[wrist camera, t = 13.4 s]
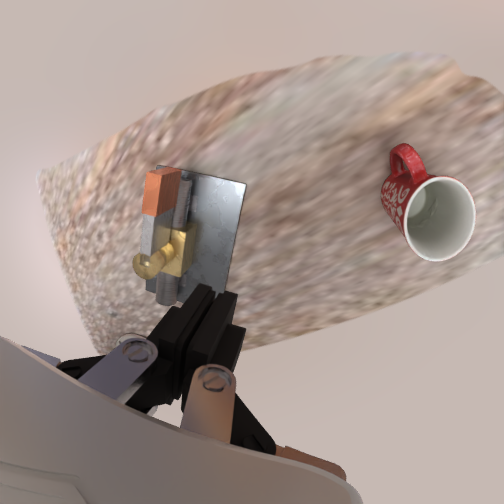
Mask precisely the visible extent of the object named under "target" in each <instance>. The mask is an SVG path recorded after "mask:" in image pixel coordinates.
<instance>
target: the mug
mask: <svg viewBox="0 0 504 504" xmlns="http://www.w3.org/2000/svg"><path fill="white" fill-rule="evenodd" d="M403 161H404V162H405V164H406V166H407V168H408V169H409V171H408V170H405V169H404V166H403ZM390 166H391V171H392V174H391V175H390V176H389V177H388V178H387V179H386V180H385V182H384V184H383V187H382V190H381V200H382V204H383V207H384V209H385V210H386V212H387V213H388V215H389V216H390V217H391V218H392V220H393V221H394V223H395V224H396V225H397V227H398V228H399V229H400V231H401V232H402V234H403V235H404V237H405V238H406V241H407V243H408V245H409V247H410V248H411V249H412V251H413V252H414V253H415V254H416V255H418V256H419V257H421V258H422V259H425V260H428V261H444V260H447V259H450V258H452V257H454V256H455V255H457V254H458V253H459V252H460V251H461V250H462V249H463V248H464V247H465V246H466V245H467V243H468V242H469V240H470V238H471V236H472V234H473V231H474V228H475V223H476V208H475V203H474V200H473V197H472V195H471V193H470V191H469V190H468V188H467V187H466V186H465V185H464V184H463V183H462V182H460V181H459V180H457V179H455V178H453V177H449V176H435V175H429V174H427V172H426V170H425V167H424V164H423V162H422V160H421V158H420V157H419V155H418V154H417V152H416V151H415V150H414V148H413V147H411V146H410V145H408V144H406V143H402V144H399V145H397V146H396V147H394V148H393V149H392V150H391V152H390Z"/></svg>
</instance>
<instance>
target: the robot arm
mask: <svg viewBox="0 0 504 504" xmlns="http://www.w3.org/2000/svg"><path fill="white" fill-rule="evenodd" d="M215 296H216V291H213V290H212V286H208V285H205V284H202V283H199V284H198V285H197V287H196V288H195V289H194V291H193V292H192V293H191V295H190V296H189V297H188V299H187V300H186V301H185V303H184V304H183V305H182V307H181V308H178V307H176V306H172V307H171V308H170V309H169V311H168V312H167V313H166V314H165V316H164V317H163V318H162V319H161V321H160V322H159V323H158V325H157V326H156V327H155V328H154V330H153V331H152V332H151V333H150V335H149V336H148V337H147V339H146V338H144V337H142V336H140V335H136V334H125V335H123V336H121V337H120V338H119V339H118V341H117V343H116V348H115V349H113V350H112V351H111V352H110V353H109V354H108V355H102V356H96V357H89V358H81V359H74V360H68V361H64V362H61V360H60V359H58V358H56V357H53V356H50V355H47V354H44V353H41V352H39V351H36V350H33V349H31V348H28V347H25V346H20V345H18V344H16V343H15V342H13V341H11V340H9V339H6V338H4V337H1V336H0V504H363V502H362V499H361V497H360V495H359V493H358V491H357V490H356V489H355V488H354V487H353V486H351V485H350V484H349V483H347V482H346V474H345V472H344V470H343V469H342V468H341V467H340V466H339V465H336V464H335V463H332V462H329V461H326V460H323V459H320V458H317V457H315V456H311V455H309V454H306V453H304V452H301V451H298V450H296V449H293V448H291V447H288V446H285V448H284V447H281V446H279V445H276V444H275V442H274V440H273V439H272V437H271V436H270V435H269V434H268V433H267V431H266V430H265V429H264V428H263V427H262V425H261V424H260V423H259V422H258V420H257V419H256V418H255V417H254V416H253V414H252V413H251V412H250V411H249V409H248V408H247V407H246V406H245V404H244V403H243V402H242V400H241V399H240V398H239V396H238V395H237V394H236V393H235V391H236V378H235V376H234V374H233V372H234V369H235V366H236V363H237V360H238V357H239V354H240V350H241V347H242V344H243V340H244V336H245V332H246V328H243V327H239V326H236V325H232V319H233V315H234V310H235V306H236V302H237V297H238V294H235V293H232V292H229V291H224V293H220V292H219V294H218V295H217V297H216V299H215ZM181 394H182V404H181V410H182V412H183V417H182V421H181V425H180V428H179V427H177V426H174V425H171V424H169V423H166V422H164V421H161V420H159V419H156V418H154V417H152V416H153V414H154V413H155V412H156V410H157V407H158V405H162V404H165V403H166V404H168V405H171V404H172V402H173V400H174V399H176V400H179V398H180V396H181Z"/></svg>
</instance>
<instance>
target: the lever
mask: <svg viewBox="0 0 504 504" xmlns="http://www.w3.org/2000/svg"><path fill="white" fill-rule="evenodd" d="M181 173H182V170H181V169H176V168H172V167H166V168H162V169H157V170H153V171H149V172H147V174H146V181H145V189H144V197H143V205H142V213H143V214H144V216H143V226H142V236H141V248H140V253H139V254H137V255H136V256H135V257H134V259H133V268H134V271H135V272H136V274H137V275H138V276H139V277H141V278H143V279H152V278H153V277H154V276H155V275H156V274H158V273H159V272H160V271H161V270H162V269H163V268H164V267H165V266H166V265H167V264H168V263H169V262H170V261H171V260H172V259H173V258H174V249H173V247H172V245H171V244H170V243H169V238H170V231H171V223H172V216H173V210H174V207H175V206H176V203H177V197H178V191H179V185H180V179H181Z"/></svg>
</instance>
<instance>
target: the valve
mask: <svg viewBox="0 0 504 504" xmlns="http://www.w3.org/2000/svg"><path fill="white" fill-rule="evenodd" d="M162 168H166V167H165V166H160V165H157V167H156V170H157V169H162ZM245 189H246V184H244V183H240V182H236V181H232V180H227V179H223V178H218V177H214V176H209V175H205V174H200V173H195V172H190V171H186V170H182V173H181V179H180V185H179V191H178V197H177V203H176V206H175V207H174V210H173V216H172V223H171V231H170V238H169V243H170V244H171V245H172V247H173V249H174V258H173V259H172V260H171V261H170V262H169V263H168V264H167V265H166V266H165V267H164V268H163V269H162V270H161V271H160V272H159V273H158V274H156V275H155V276H154V277H153V278H152V279H146V290H147V291H150V292H153V293H156V301H157V303H159V304H161V305H164V306H170V305H174V304H175V303H176V302H177V301H179V302H182V303H185V301H186V300H187V299H188V297H189V296H190V295H191V293H192V292H193V291H194V289H195V288H196V287H197V285H198V284H199V283H202V284H205V285H208V286H212V290H213V291H216V296H215V299H216V297H217V295H218V294H219V292H220V293H224V291H225V286H226V281H227V276H228V271H229V266H230V261H231V256H232V251H233V246H234V241H235V237H236V232H237V227H238V222H239V217H240V213H241V208H242V203H243V198H244V194H245Z"/></svg>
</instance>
